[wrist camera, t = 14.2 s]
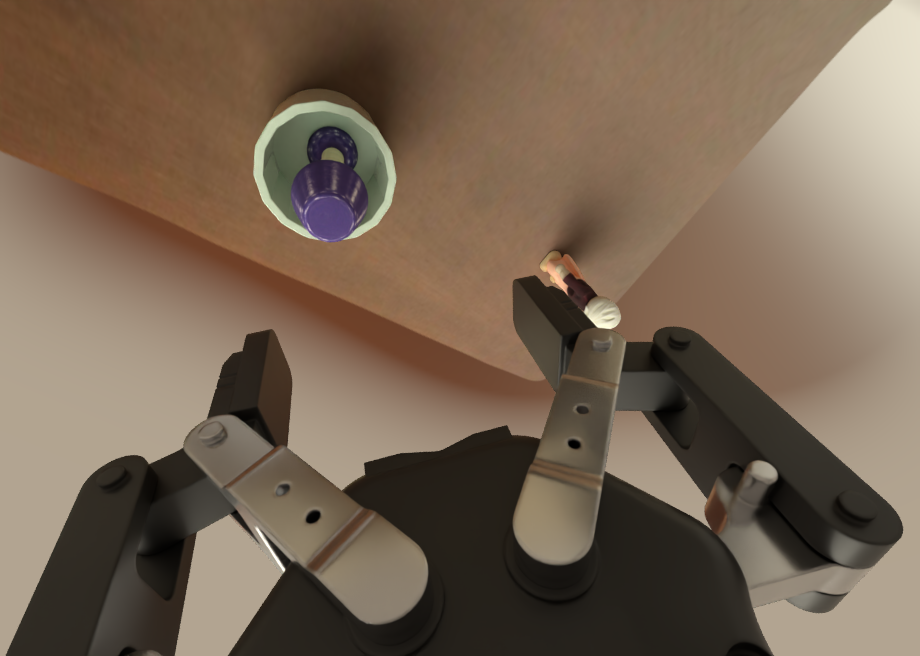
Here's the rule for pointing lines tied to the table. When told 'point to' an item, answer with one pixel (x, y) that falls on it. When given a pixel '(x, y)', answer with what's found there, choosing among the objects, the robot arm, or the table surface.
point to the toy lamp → (330, 187)
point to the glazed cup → (287, 155)
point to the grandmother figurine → (580, 290)
